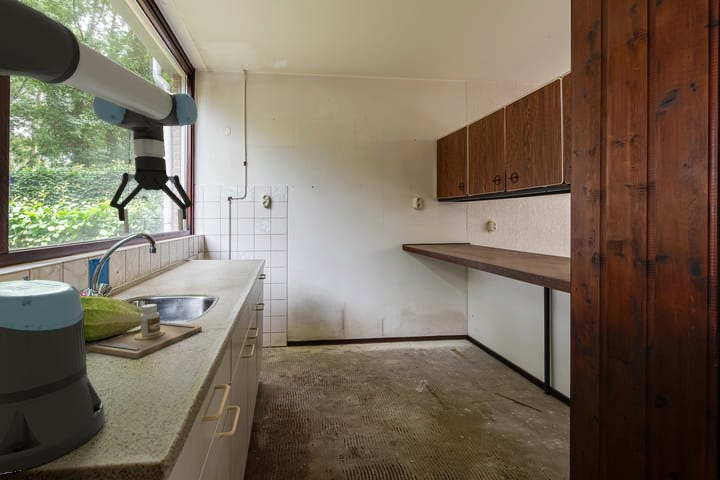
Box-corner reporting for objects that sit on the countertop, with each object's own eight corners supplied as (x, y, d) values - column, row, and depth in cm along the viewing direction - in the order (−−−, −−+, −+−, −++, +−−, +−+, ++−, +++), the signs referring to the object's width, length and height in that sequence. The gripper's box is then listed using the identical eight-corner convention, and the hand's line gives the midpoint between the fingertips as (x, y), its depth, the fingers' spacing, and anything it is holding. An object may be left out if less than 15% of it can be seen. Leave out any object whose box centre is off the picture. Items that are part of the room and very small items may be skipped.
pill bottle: (151, 336, 89) (150, 307, 89) (137, 336, 90) (135, 307, 90) (164, 331, 94) (162, 303, 93) (150, 330, 95) (148, 303, 94)
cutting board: (136, 358, 80) (136, 351, 80) (89, 350, 85) (89, 344, 85) (201, 330, 98) (201, 325, 98) (160, 325, 104) (159, 320, 104)
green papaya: (150, 317, 93) (150, 284, 102) (41, 323, 81) (54, 285, 90) (146, 349, 99) (147, 314, 108) (45, 359, 87) (56, 319, 96)
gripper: (193, 162, 107) (197, 229, 109) (93, 154, 91) (100, 233, 93) (200, 159, 102) (204, 230, 103) (95, 150, 85) (102, 234, 87)
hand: (155, 231), depth 98 cm, fingers open, 13 cm apart
